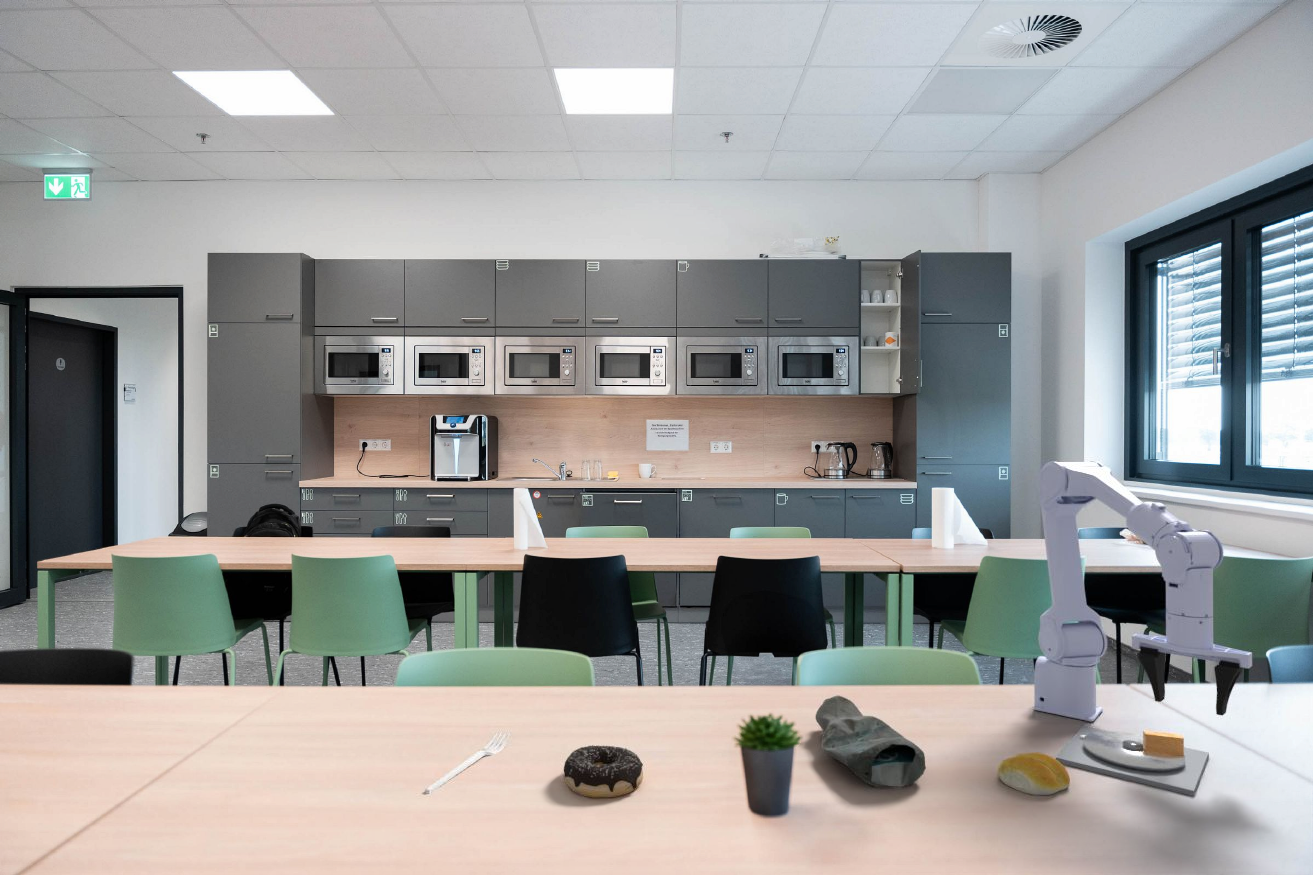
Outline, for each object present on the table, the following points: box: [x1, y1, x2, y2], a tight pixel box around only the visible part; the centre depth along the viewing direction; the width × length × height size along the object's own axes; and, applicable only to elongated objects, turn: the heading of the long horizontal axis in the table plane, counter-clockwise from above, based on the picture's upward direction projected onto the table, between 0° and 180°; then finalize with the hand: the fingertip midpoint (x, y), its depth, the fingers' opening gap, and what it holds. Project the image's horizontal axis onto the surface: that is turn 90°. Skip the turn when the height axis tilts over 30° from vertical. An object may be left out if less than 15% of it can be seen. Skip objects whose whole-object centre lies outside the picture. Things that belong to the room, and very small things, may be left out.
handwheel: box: [1083, 729, 1185, 771], centre depth 117 cm, size 13×13×3 cm
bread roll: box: [997, 752, 1071, 796], centre depth 109 cm, size 8×9×4 cm
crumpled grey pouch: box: [815, 695, 927, 789], centre depth 118 cm, size 13×7×25 cm
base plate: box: [1055, 725, 1210, 797], centre depth 117 cm, size 17×17×1 cm
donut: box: [563, 744, 644, 799], centre depth 110 cm, size 11×12×4 cm
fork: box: [424, 730, 511, 795], centre depth 115 cm, size 3×20×2 cm, turn 160°
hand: (1189, 706), depth 114 cm, fingers open, 7 cm apart
